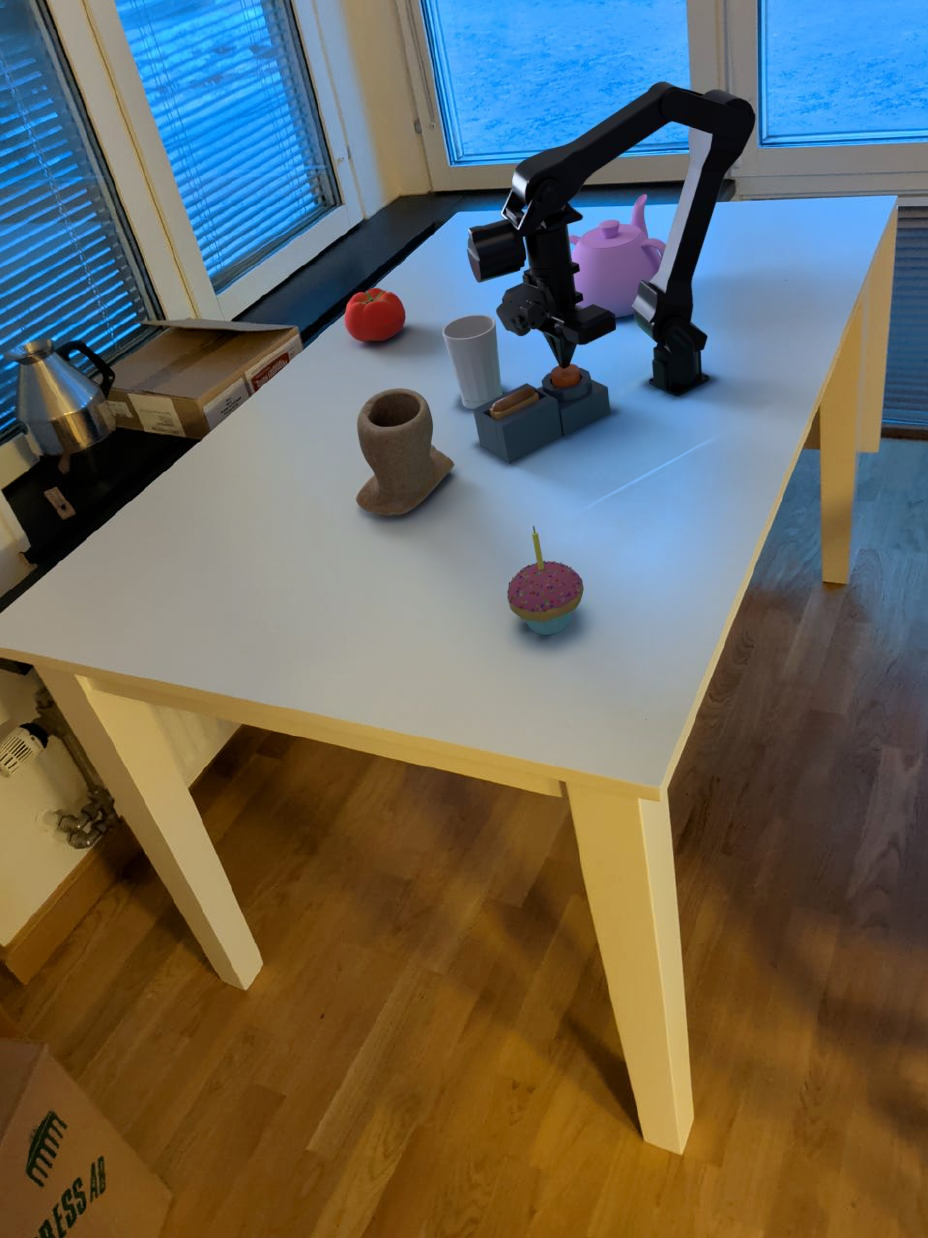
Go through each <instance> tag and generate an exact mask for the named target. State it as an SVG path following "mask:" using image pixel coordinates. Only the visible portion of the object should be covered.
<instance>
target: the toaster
mask: <svg viewBox="0 0 928 1238" xmlns="http://www.w3.org/2000/svg"><path fill="white" fill-rule="evenodd" d="M525 387H531V388H533V389H534V390H535V392H536V393H538V397H539V400H538V401H536V402H534V403H532V404H530V405H528V406H526V407H524V408H522V409H520V410H518V411H516V412H514V413H512V414H510V415H508V416H506V417H504V418H502V419H500V420H498V421H496V420H494V419H492V418H491V414H490V409H491V408H492V406H493V404H494V403H495V402H497V401H499V400H501V399H503V398H505V397H507V396H509V395H511V394H513V393H515V392H517V391H519V390H521V389H523V388H525ZM472 411H473V416H474V422H475V427H476V432H477V437H478V441H479V445H480V447H482V448H484V449H485V450H486V451H488V452H490V453H491V454H493V455H494V456H496V457H497V458H499V459H500V460H502V461H504V462H506V463H507V464H511V463H513V462H516V461H517V460H519V459H521V458H523V457H525V456H527V455H530V454H531V453H532V452H535V451H537V450H539V449H541V448H542V447H544V446H546V445H549V444H550V443H552V442H554V441H557V440H558V439H560V438H562V437H563V435H562V429H561V422H560V415H559V408H558V401H557V399H556V398H554V397H552V396H550V395H548V394H547V393H545V392H543V391H541V390H539V389H538V387H535V386H533V385H531V384H529V383H528V382H526V383H524V384H522V385H520V386H518V387H516V388H513V389H511V390H509V391H508V392H505V393H503V395H501V396H499V397H497V398H495V399H493V400H491V401H489V402H487V403H485V404H483V405H481V406H479V407H477V408H475V409H472Z"/></svg>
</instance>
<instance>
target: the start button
mask: <svg viewBox="0 0 928 1238" xmlns="http://www.w3.org/2000/svg"><path fill="white" fill-rule="evenodd" d="M579 368H580V367H579V366H578V365H576V364H574V363H570V365H569V367H567V368H565V369H563V368H561V367H560V366H559V364H558V365H556V366H554V367H553V368H551V370H550V372H551V378H552V384H553V385H554V386H556V387H568V386H572V385H574V384H576V383H578V382H579V381H580V373H579Z"/></svg>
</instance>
